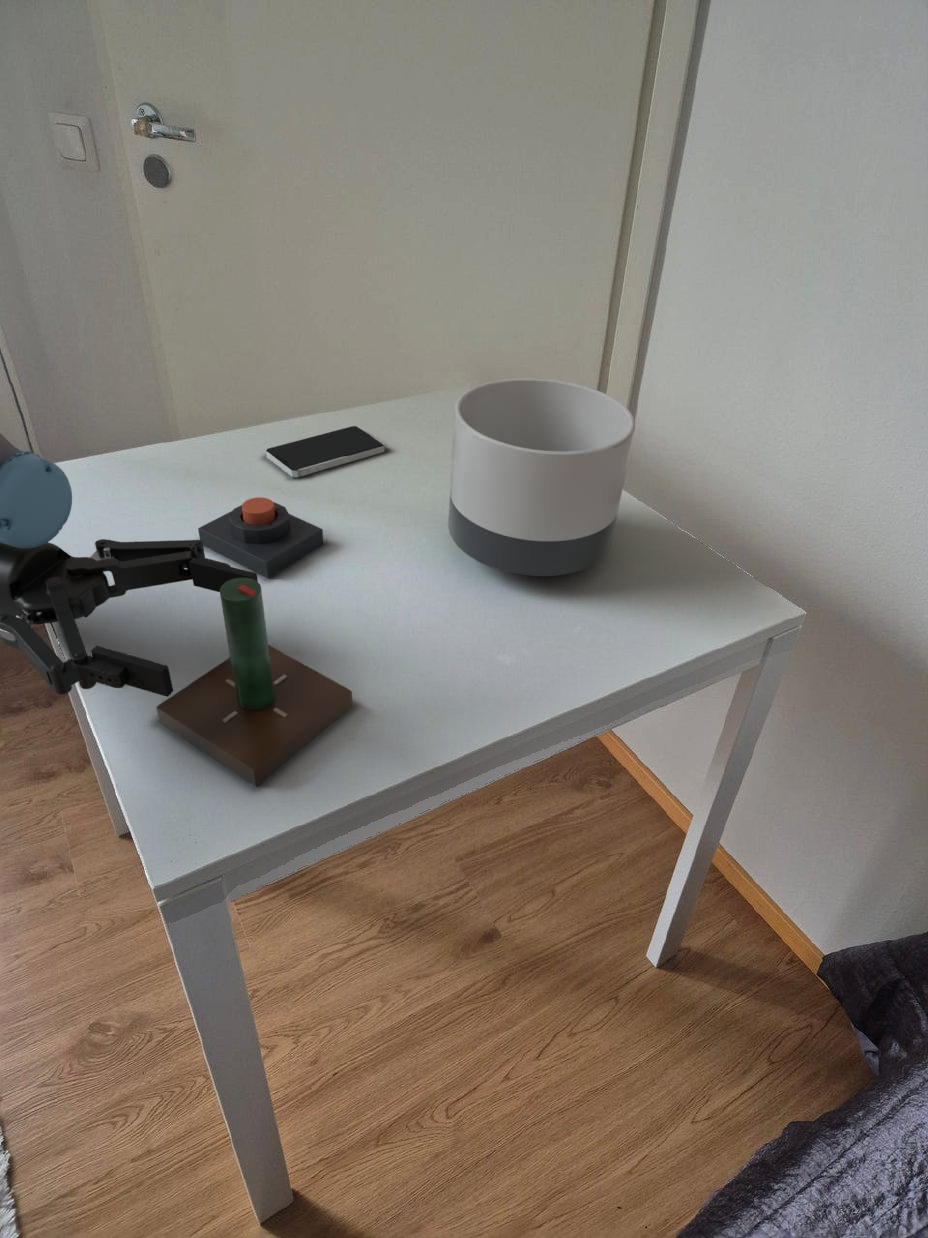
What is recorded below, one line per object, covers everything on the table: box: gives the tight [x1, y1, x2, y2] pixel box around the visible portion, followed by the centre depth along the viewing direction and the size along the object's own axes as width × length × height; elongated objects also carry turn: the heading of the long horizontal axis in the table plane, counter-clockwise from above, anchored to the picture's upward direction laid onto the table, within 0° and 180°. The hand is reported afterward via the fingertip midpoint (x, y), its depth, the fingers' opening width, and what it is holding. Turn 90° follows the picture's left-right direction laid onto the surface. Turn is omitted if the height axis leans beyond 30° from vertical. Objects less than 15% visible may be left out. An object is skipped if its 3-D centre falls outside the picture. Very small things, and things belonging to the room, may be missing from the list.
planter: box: [447, 377, 636, 577], centre depth 91 cm, size 19×19×18 cm
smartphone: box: [265, 425, 386, 478], centre depth 112 cm, size 8×1×15 cm
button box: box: [197, 501, 324, 579], centre depth 93 cm, size 11×9×4 cm
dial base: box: [156, 643, 353, 787], centre depth 72 cm, size 12×12×2 cm
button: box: [241, 497, 275, 525], centre depth 91 cm, size 4×4×2 cm
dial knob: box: [219, 578, 274, 711], centre depth 67 cm, size 3×3×12 cm
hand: (216, 631), depth 68 cm, fingers open, 13 cm apart
